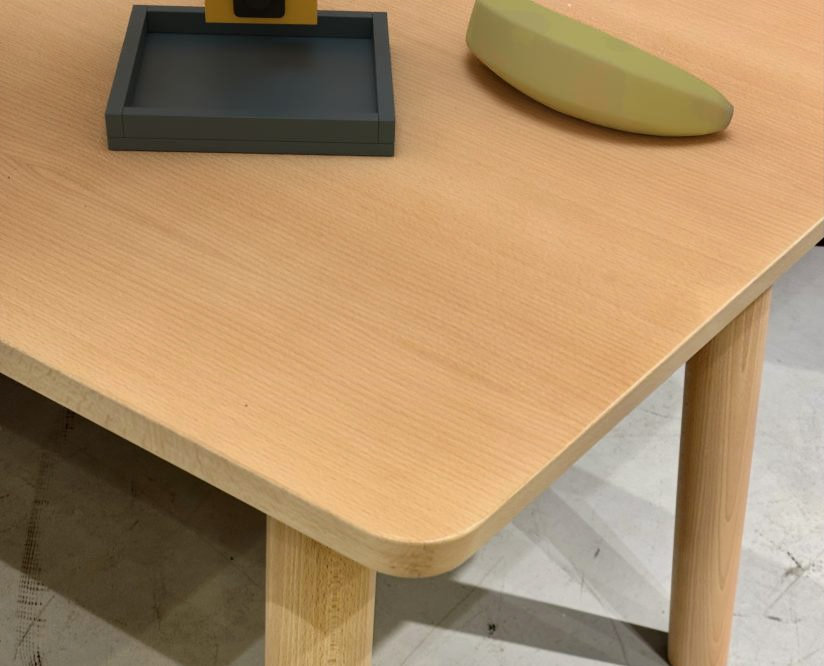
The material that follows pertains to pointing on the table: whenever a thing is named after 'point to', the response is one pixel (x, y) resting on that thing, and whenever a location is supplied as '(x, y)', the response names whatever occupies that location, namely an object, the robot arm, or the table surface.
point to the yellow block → (296, 12)
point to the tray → (253, 85)
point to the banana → (591, 72)
